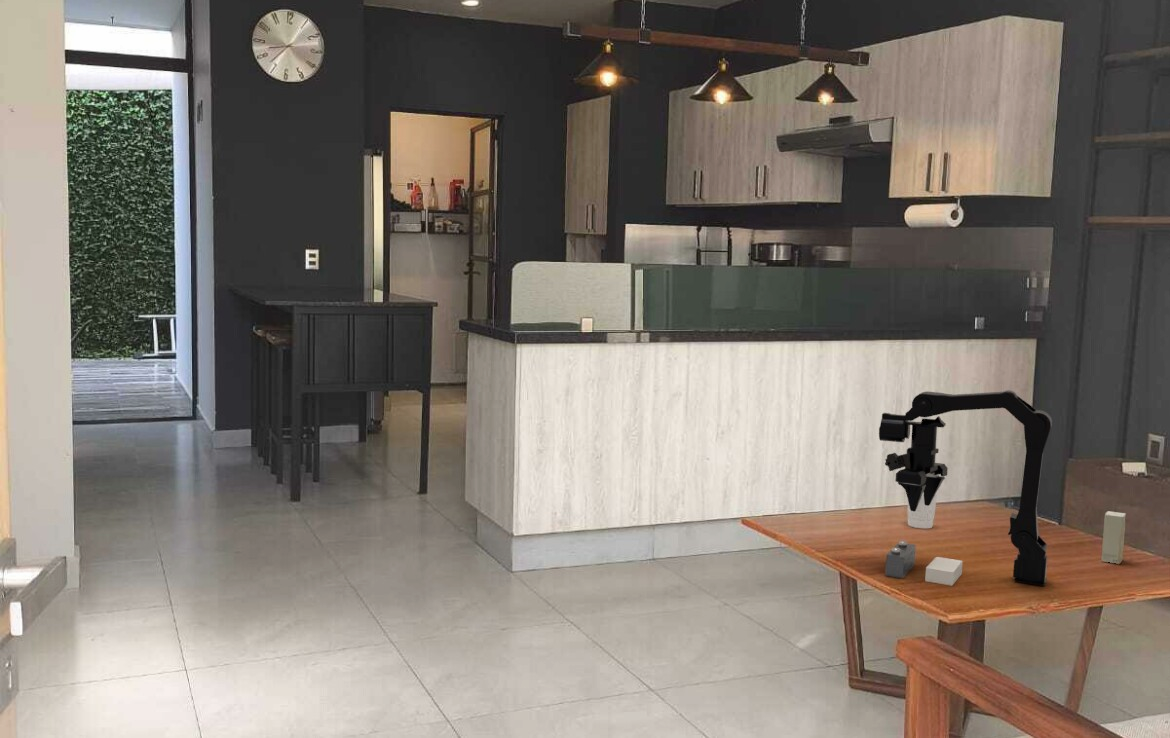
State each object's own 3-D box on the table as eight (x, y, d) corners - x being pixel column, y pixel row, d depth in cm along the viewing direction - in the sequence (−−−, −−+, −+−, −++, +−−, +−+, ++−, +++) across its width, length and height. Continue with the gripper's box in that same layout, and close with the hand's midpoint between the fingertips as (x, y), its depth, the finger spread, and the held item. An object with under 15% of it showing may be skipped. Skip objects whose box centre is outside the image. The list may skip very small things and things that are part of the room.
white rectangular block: (961, 575, 258) (962, 560, 258) (952, 587, 248) (953, 572, 247) (935, 571, 261) (936, 556, 261) (924, 582, 250) (926, 567, 250)
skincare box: (1119, 564, 273) (1123, 517, 272) (1100, 561, 275) (1104, 514, 274) (1122, 559, 278) (1126, 513, 277) (1103, 556, 281) (1107, 510, 279)
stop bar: (914, 565, 264) (916, 540, 264) (902, 578, 252) (904, 553, 251) (897, 562, 266) (899, 538, 265) (885, 575, 254) (886, 550, 253)
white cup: (901, 522, 311) (903, 488, 310) (927, 523, 311) (930, 488, 311) (912, 529, 303) (914, 493, 302) (939, 529, 304) (942, 494, 303)
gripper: (905, 436, 274) (902, 497, 276) (876, 444, 260) (872, 509, 261) (949, 441, 268) (946, 504, 269) (921, 449, 253) (918, 516, 254)
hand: (920, 508), depth 264 cm, fingers open, 9 cm apart
